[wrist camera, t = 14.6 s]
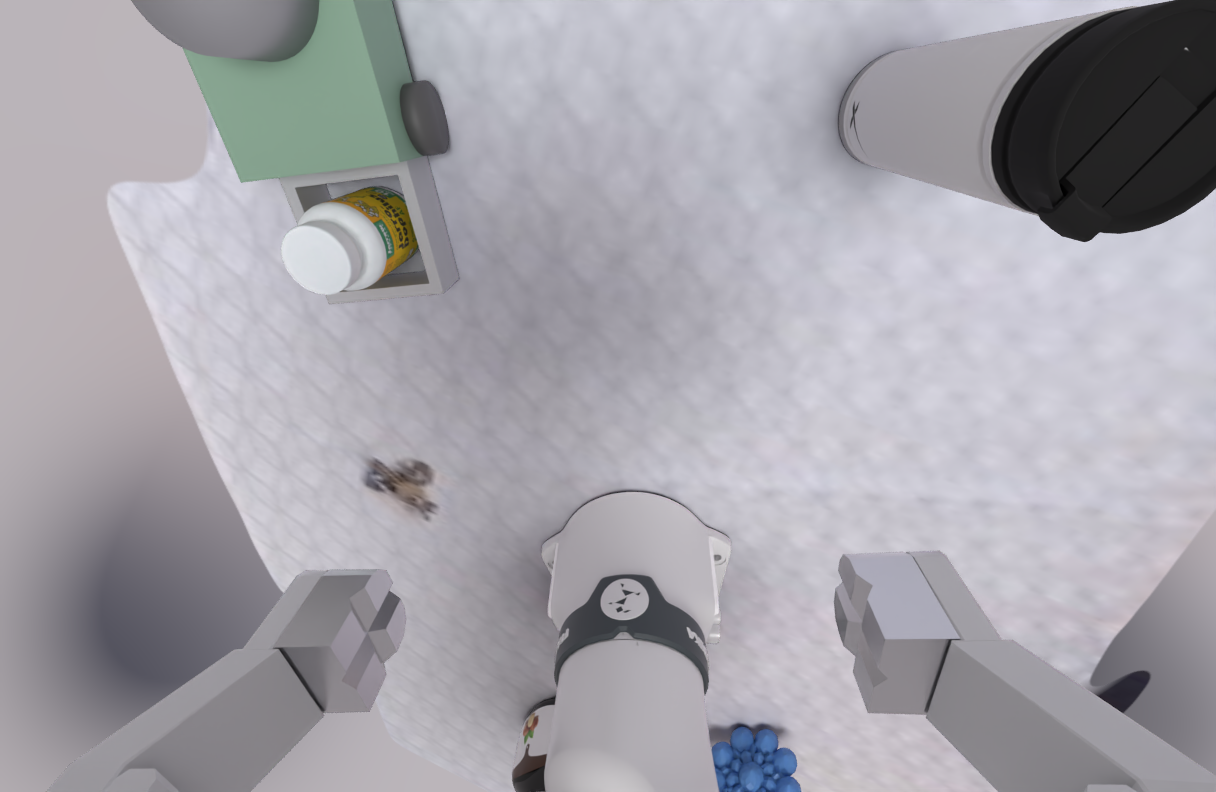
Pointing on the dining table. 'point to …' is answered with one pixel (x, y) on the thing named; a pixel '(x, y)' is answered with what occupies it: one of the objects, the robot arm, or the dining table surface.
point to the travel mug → (1053, 116)
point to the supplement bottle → (350, 241)
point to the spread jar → (533, 749)
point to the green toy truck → (320, 108)
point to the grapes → (754, 763)
